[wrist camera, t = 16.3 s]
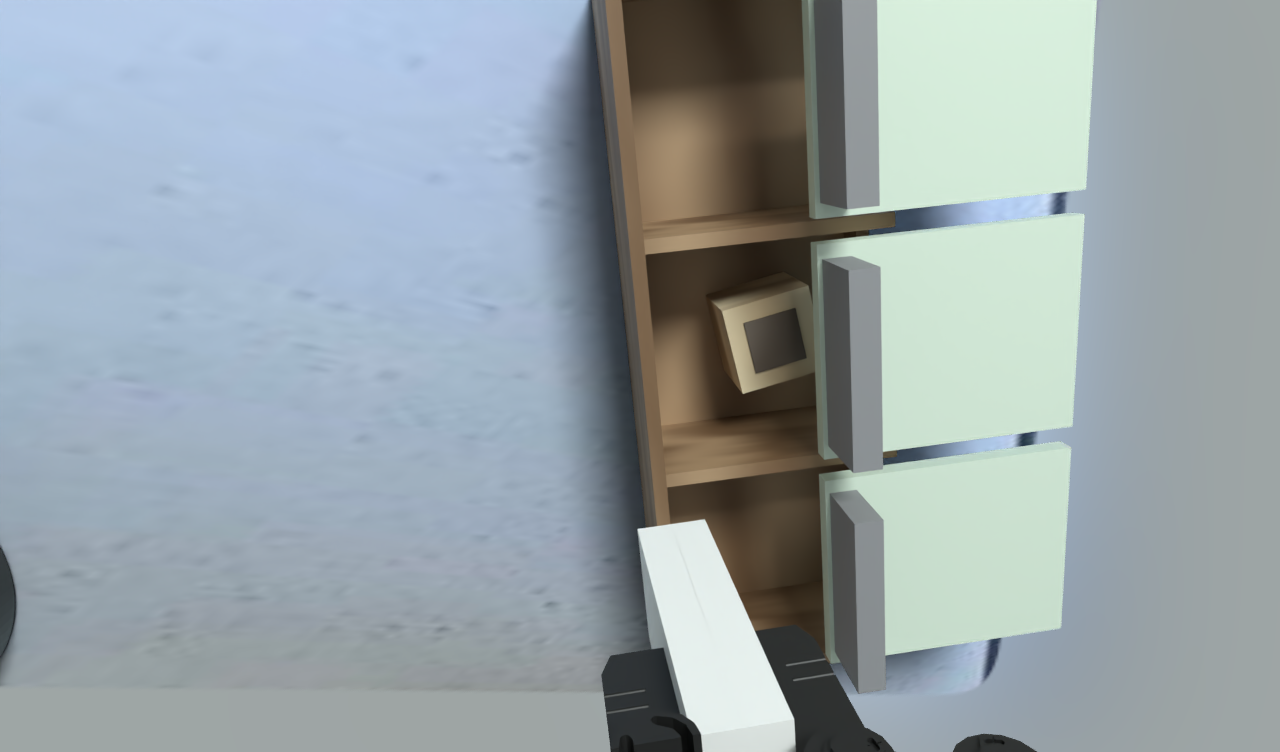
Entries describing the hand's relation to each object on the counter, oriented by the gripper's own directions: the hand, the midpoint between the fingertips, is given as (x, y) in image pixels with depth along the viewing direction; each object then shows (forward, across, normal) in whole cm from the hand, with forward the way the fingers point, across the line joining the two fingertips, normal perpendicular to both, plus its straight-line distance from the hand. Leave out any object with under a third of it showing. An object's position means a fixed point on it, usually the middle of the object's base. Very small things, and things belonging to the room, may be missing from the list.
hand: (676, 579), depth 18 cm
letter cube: (+23, +8, 0) cm, 24 cm away
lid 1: (+17, +14, +10) cm, 24 cm away
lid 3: (+16, +14, -10) cm, 24 cm away
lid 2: (+16, +14, 0) cm, 22 cm away
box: (+24, +7, 0) cm, 25 cm away
